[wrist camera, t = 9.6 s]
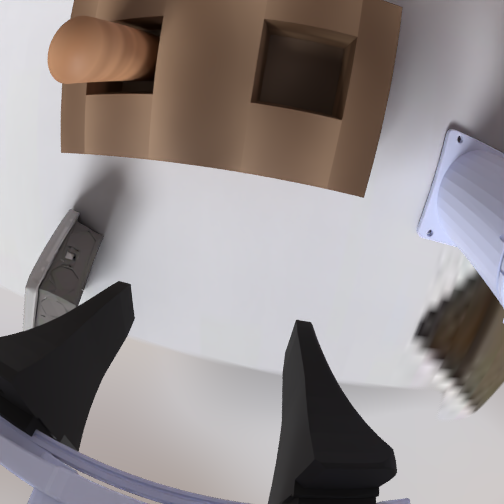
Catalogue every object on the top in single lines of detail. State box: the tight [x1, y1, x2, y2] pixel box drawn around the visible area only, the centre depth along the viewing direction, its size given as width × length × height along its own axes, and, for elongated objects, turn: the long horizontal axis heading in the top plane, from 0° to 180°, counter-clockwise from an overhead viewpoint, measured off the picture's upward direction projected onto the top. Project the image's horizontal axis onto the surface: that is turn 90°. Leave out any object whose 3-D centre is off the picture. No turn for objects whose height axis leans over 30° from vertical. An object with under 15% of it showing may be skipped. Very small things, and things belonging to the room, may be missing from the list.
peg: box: [48, 16, 160, 84], centre depth 12 cm, size 3×3×8 cm
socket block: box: [61, 0, 402, 198], centre depth 14 cm, size 17×10×5 cm, turn 82°
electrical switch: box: [23, 209, 104, 331], centre depth 21 cm, size 9×5×9 cm, turn 144°
